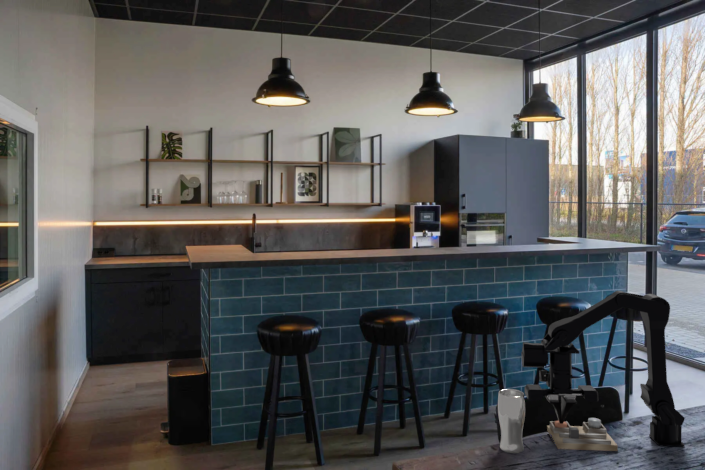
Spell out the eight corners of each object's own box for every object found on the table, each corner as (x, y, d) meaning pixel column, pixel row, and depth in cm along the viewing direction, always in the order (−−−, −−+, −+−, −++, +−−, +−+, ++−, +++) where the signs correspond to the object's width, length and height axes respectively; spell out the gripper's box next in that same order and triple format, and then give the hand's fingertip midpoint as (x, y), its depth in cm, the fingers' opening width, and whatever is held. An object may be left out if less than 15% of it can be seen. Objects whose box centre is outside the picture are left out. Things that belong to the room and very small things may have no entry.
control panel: (602, 432, 152) (602, 421, 151) (617, 451, 140) (617, 439, 140) (547, 430, 153) (547, 420, 153) (558, 449, 142) (557, 437, 141)
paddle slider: (576, 437, 144) (576, 427, 144) (578, 440, 142) (578, 430, 142) (569, 437, 144) (568, 427, 144) (571, 440, 143) (571, 430, 142)
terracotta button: (565, 426, 151) (565, 420, 151) (568, 430, 148) (568, 425, 148) (553, 426, 152) (553, 420, 152) (556, 430, 149) (556, 424, 149)
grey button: (598, 423, 150) (598, 417, 150) (602, 428, 147) (602, 422, 147) (586, 423, 151) (586, 417, 151) (590, 427, 147) (590, 422, 147)
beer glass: (528, 454, 139) (528, 397, 138) (501, 454, 139) (501, 397, 139) (520, 442, 146) (520, 388, 145) (495, 442, 146) (494, 388, 146)
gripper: (586, 360, 156) (586, 413, 157) (520, 359, 158) (521, 411, 159) (599, 371, 145) (599, 428, 146) (528, 370, 147) (528, 426, 148)
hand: (560, 422), depth 150 cm, fingers closed, pressing on terracotta button
